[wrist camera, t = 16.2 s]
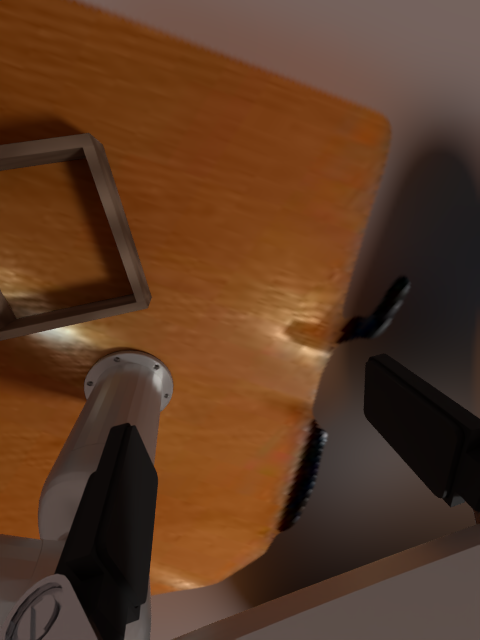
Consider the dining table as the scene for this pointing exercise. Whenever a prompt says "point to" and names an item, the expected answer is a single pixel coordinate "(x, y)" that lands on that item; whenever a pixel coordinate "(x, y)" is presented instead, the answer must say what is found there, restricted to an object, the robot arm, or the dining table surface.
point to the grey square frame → (59, 149)
